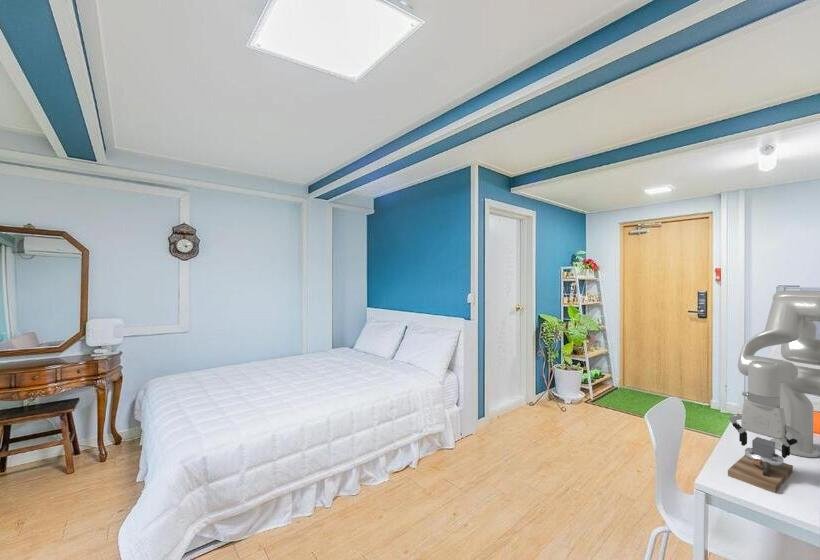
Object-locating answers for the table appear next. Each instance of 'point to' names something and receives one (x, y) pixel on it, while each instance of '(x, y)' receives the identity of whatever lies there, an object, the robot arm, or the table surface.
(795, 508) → the table surface
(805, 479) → the table surface
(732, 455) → the table surface
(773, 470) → the base board
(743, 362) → the robot arm
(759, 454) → the flange plate
